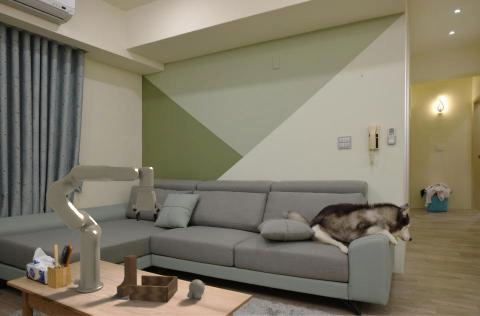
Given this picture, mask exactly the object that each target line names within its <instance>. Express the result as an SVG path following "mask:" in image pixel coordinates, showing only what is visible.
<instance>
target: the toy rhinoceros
mask: <svg viewBox="0 0 480 316" xmlns="http://www.w3.org/2000/svg"><path fill="white" fill-rule="evenodd" d="M205 286H206V283H205V282H203V281H202V280H200V279H194V280H192V281H191V282H190V284H189V285H188V293H187V295H186V297H187V298H188V299H198V300H201V299H202V298H203V294H204V292H205V289H206V287H205Z"/></svg>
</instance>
